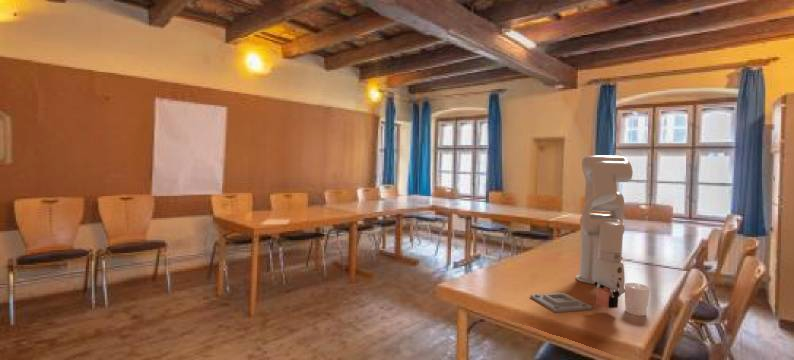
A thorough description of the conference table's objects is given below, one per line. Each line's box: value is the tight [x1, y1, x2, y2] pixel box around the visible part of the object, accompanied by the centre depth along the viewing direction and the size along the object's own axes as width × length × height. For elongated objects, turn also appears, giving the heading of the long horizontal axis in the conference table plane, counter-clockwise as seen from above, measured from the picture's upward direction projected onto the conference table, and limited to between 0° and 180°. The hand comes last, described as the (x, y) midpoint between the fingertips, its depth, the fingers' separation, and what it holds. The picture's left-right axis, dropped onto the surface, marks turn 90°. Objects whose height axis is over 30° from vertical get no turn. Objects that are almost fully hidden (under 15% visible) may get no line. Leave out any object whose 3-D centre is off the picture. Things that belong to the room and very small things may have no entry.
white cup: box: [624, 282, 651, 317], centre depth 146 cm, size 8×8×10 cm
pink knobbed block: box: [595, 287, 619, 310], centre depth 145 cm, size 5×5×7 cm
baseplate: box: [529, 291, 593, 313], centre depth 155 cm, size 16×16×2 cm
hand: (606, 303), depth 145 cm, fingers closed on pink knobbed block, 5 cm apart
